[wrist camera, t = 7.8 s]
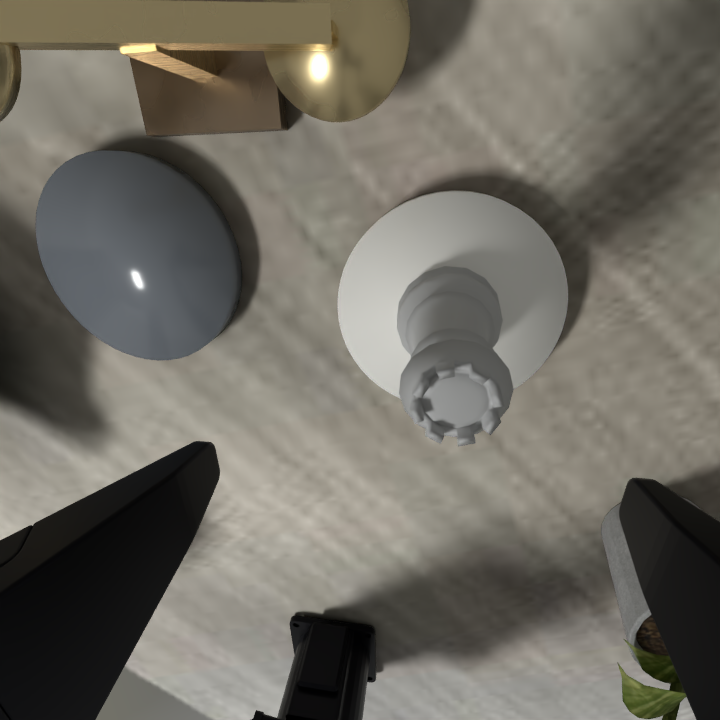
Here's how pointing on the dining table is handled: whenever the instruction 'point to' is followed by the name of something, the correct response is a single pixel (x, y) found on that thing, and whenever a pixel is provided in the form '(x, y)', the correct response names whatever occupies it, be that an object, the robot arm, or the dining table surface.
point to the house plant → (639, 631)
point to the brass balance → (224, 56)
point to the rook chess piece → (452, 355)
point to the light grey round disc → (455, 249)
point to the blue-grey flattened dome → (138, 253)
